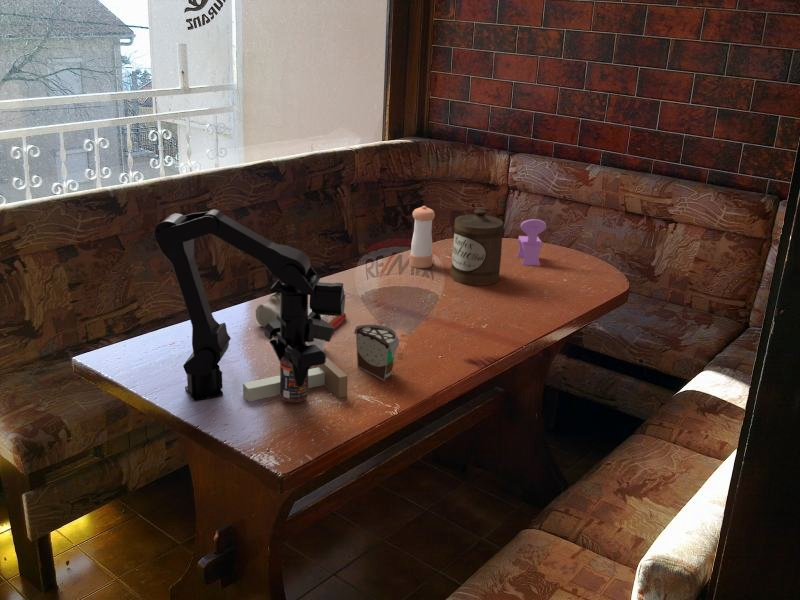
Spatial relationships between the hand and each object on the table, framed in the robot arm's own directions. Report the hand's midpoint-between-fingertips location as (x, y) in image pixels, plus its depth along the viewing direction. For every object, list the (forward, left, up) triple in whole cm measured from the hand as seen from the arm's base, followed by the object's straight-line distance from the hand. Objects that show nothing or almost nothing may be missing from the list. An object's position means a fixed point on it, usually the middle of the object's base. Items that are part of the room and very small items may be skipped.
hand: (294, 379), depth 178 cm
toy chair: (+108, +54, -5) cm, 121 cm away
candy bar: (+24, +31, -5) cm, 40 cm away
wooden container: (+82, +48, -5) cm, 95 cm away
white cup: (+14, +22, -5) cm, 26 cm away
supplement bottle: (0, 0, -4) cm, 4 cm away
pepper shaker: (+73, +65, -5) cm, 98 cm away
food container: (+24, +5, -5) cm, 25 cm away
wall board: (+1, +1, -5) cm, 5 cm away
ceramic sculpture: (+14, +40, -5) cm, 43 cm away
